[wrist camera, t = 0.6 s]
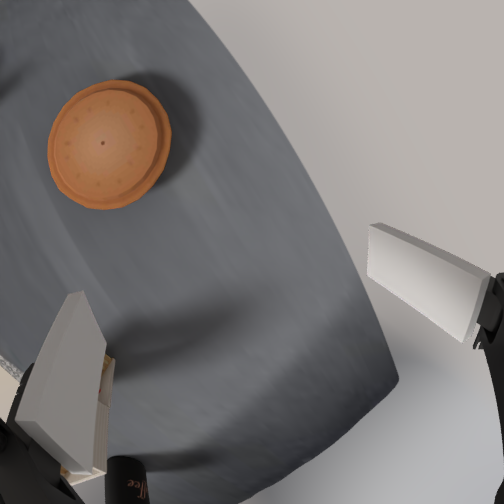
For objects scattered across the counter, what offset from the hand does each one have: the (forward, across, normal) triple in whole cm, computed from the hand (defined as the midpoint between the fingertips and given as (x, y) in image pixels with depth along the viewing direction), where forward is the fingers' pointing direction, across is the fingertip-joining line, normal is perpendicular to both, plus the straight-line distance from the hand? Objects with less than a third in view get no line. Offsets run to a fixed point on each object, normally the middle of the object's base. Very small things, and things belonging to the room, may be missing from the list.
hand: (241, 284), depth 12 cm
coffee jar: (+26, -32, -58) cm, 71 cm away
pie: (+27, -9, +8) cm, 29 cm away
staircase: (+26, -24, -23) cm, 43 cm away
